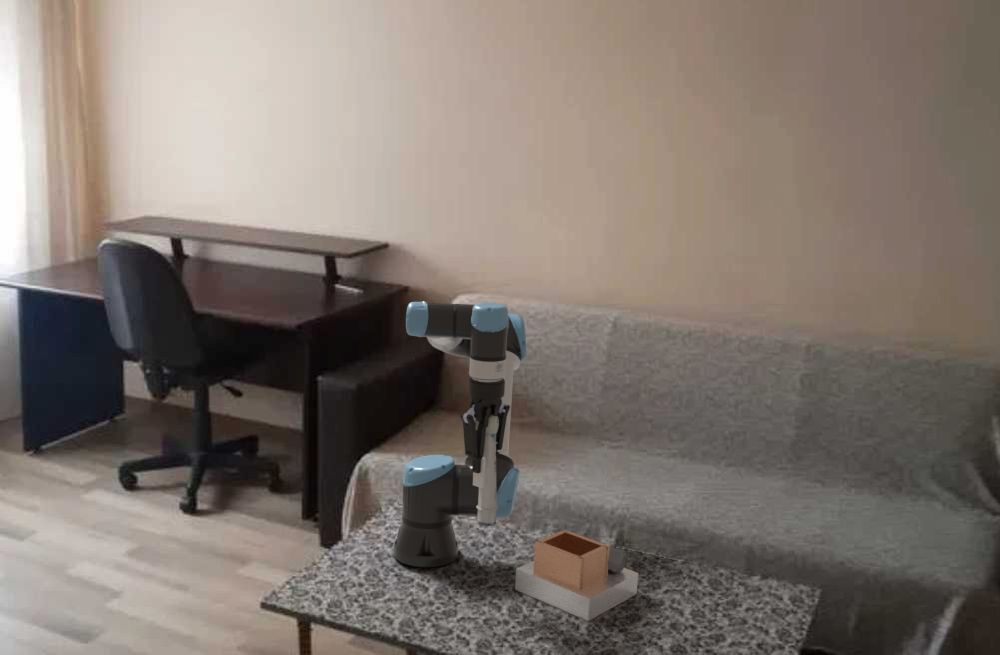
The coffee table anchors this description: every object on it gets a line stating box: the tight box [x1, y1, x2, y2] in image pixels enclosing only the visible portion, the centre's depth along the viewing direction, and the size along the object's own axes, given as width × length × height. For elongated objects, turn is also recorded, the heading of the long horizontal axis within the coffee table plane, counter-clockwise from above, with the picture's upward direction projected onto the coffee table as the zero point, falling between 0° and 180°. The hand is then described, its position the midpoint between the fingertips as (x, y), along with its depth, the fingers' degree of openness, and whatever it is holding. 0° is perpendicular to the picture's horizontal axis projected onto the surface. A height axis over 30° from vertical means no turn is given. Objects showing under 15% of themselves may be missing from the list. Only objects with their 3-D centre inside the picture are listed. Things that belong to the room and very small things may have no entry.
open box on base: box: [514, 529, 639, 622], centre depth 225 cm, size 20×18×12 cm
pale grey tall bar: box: [475, 415, 499, 527], centre depth 218 cm, size 5×7×25 cm
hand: (482, 484), depth 218 cm, fingers closed on pale grey tall bar, 2 cm apart
